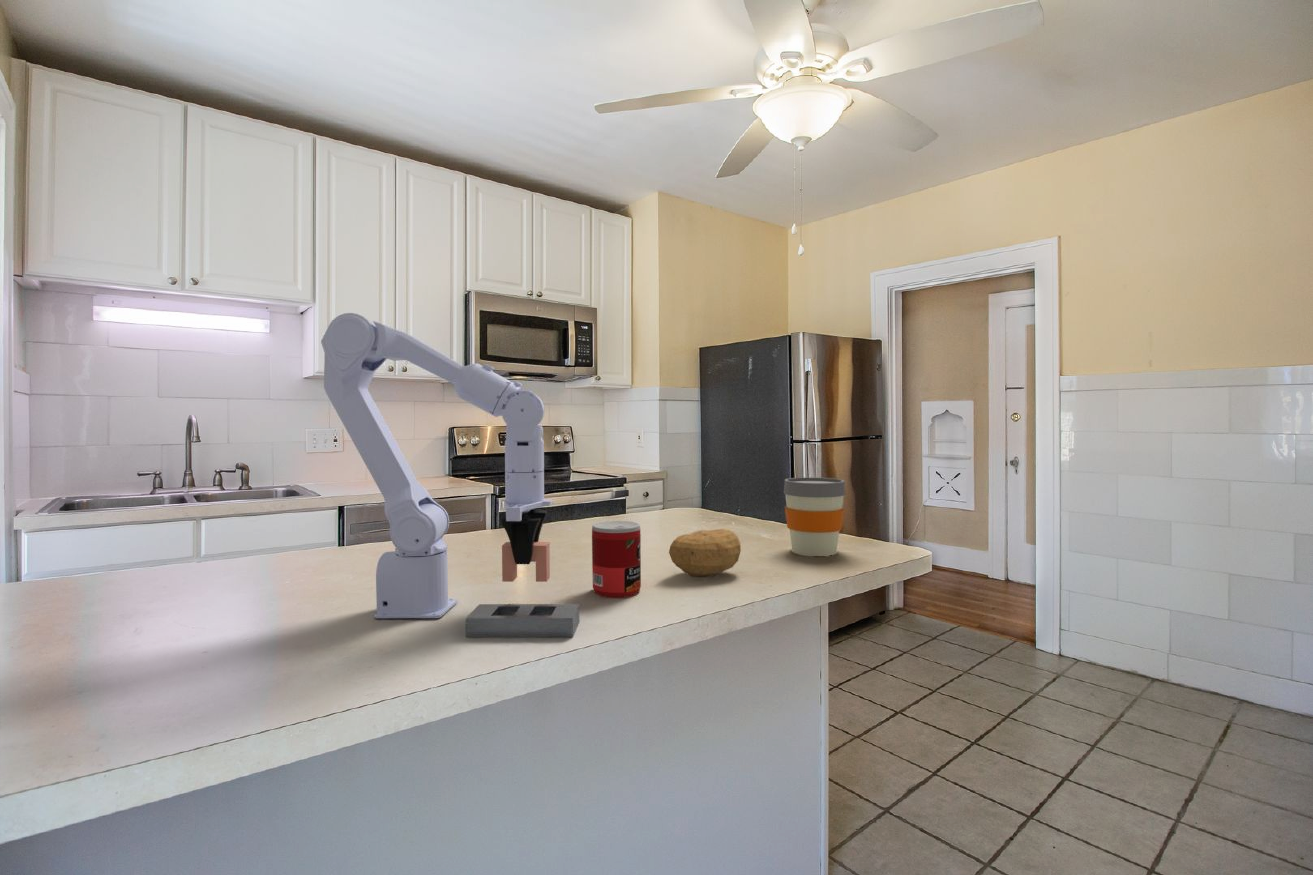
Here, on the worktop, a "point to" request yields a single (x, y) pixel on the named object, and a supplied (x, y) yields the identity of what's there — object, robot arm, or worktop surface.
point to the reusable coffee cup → (814, 514)
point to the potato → (705, 552)
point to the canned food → (616, 558)
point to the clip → (538, 555)
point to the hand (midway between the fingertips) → (525, 561)
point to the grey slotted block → (523, 620)
